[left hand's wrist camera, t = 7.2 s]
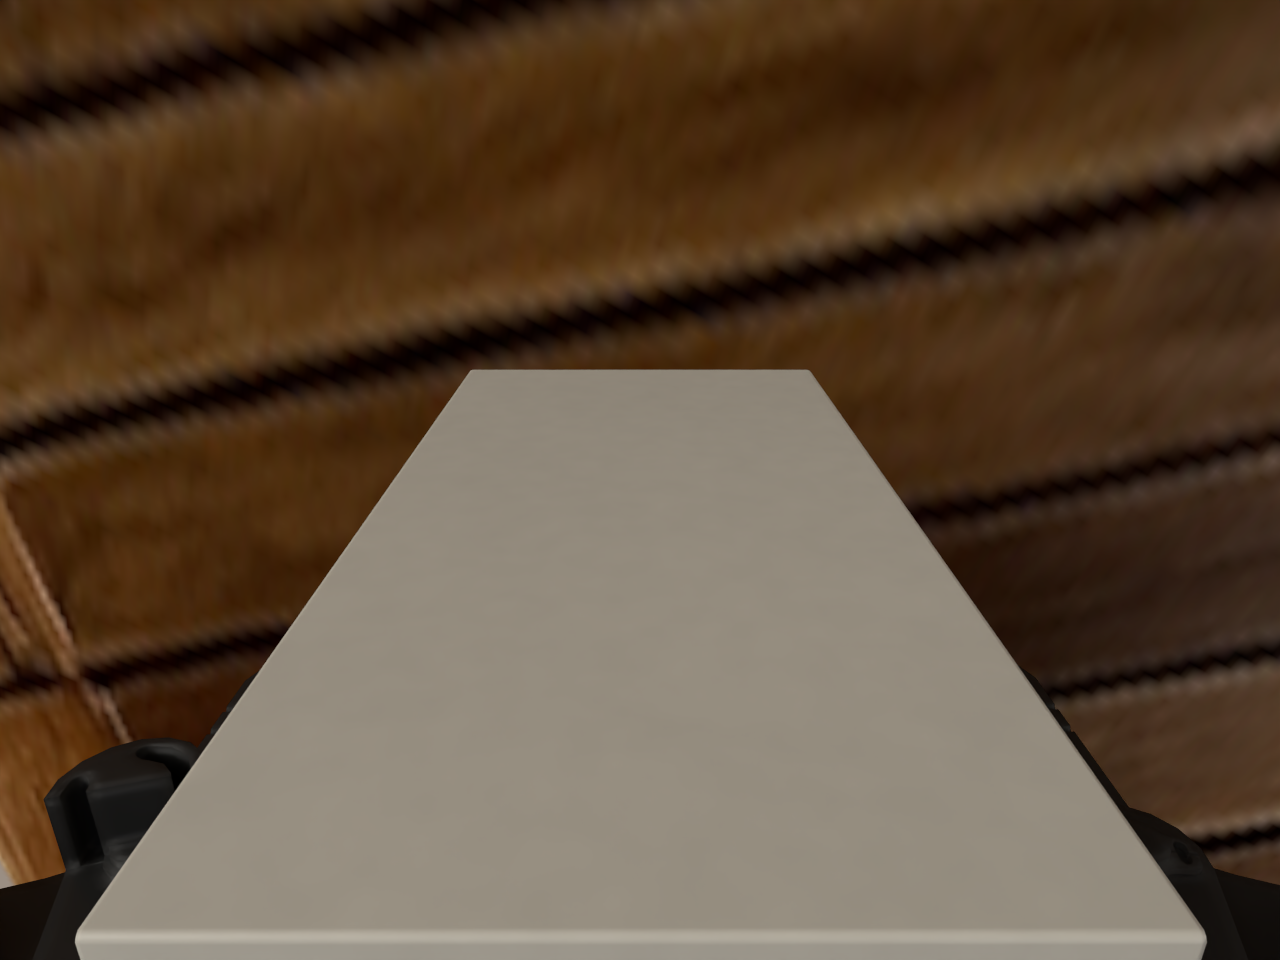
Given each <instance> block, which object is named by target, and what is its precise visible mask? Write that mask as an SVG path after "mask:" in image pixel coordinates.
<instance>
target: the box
mask: <svg viewBox="0 0 1280 960" xmlns="http://www.w3.org/2000/svg"><path fill="white" fill-rule="evenodd" d="M75 944H76V947H77V950H78V953H79V957H80V960H1201V959H1202V956H1203V953H1204V950H1205V947H1206V944H1207V939H1206V934H1205V931H1204V929H1203V928H1202V926H1201V925H1200V923H1199V922H1198V921H1197V919H1196V918H1195V916H1194V915H1193V914H1192V912H1191V911H1190V909H1189V908H1188V906H1187V905H1186V904H1185V902H1184V901H1183V899H1182V898H1181V896H1180V895H1179V894H1178V892H1177V891H1176V889H1175V888H1174V887H1173V885H1172V884H1171V882H1170V881H1169V879H1168V878H1167V877H1166V875H1165V874H1164V872H1163V871H1162V870H1161V868H1160V867H1159V865H1158V864H1157V862H1156V861H1155V860H1154V858H1153V857H1152V855H1151V854H1150V853H1149V851H1148V850H1147V848H1146V847H1145V845H1144V844H1143V843H1142V841H1141V840H1140V838H1139V837H1138V836H1137V834H1136V833H1135V831H1134V830H1133V828H1132V827H1131V826H1130V824H1129V823H1128V821H1127V820H1126V818H1125V817H1124V816H1123V814H1122V813H1121V811H1120V810H1119V809H1118V807H1117V806H1116V804H1115V803H1114V801H1113V800H1112V799H1111V797H1110V796H1109V794H1108V793H1107V792H1106V790H1105V789H1104V787H1103V786H1102V784H1101V783H1100V782H1099V780H1098V779H1097V777H1096V776H1095V775H1094V773H1093V772H1092V770H1091V769H1090V767H1089V766H1088V765H1087V763H1086V762H1085V760H1084V759H1083V758H1082V756H1081V755H1080V753H1079V752H1078V750H1077V749H1076V748H1075V746H1074V745H1073V743H1072V742H1071V741H1070V739H1069V738H1068V736H1067V735H1066V733H1065V732H1064V731H1063V729H1062V728H1061V726H1060V725H1059V723H1058V722H1057V721H1056V719H1055V718H1054V716H1053V715H1052V714H1051V712H1050V711H1049V709H1048V708H1047V706H1046V705H1045V704H1044V702H1043V701H1042V699H1041V698H1040V697H1039V695H1038V694H1037V692H1036V691H1035V689H1034V688H1033V687H1032V685H1031V684H1030V682H1029V681H1028V680H1027V678H1026V677H1025V675H1024V674H1023V672H1022V671H1021V670H1020V668H1019V667H1018V665H1017V664H1016V663H1015V661H1014V660H1013V658H1012V657H1011V655H1010V654H1009V653H1008V651H1007V650H1006V648H1005V647H1004V645H1003V644H1002V643H1001V641H1000V640H999V638H998V637H997V636H996V634H995V633H994V631H993V630H992V628H991V627H990V626H989V624H988V623H987V621H986V620H985V619H984V617H983V616H982V614H981V613H980V611H979V610H978V609H977V607H976V606H975V604H974V603H973V602H972V600H971V599H970V597H969V596H968V594H967V593H966V592H965V590H964V589H963V587H962V586H961V585H960V583H959V582H958V580H957V579H956V577H955V576H954V575H953V573H952V572H951V570H950V569H949V567H948V566H947V565H946V563H945V562H944V560H943V559H942V558H941V556H940V555H939V553H938V552H937V550H936V549H935V548H934V546H933V545H932V543H931V542H930V541H929V539H928V538H927V536H926V535H925V533H924V532H923V531H922V529H921V528H920V526H919V525H918V524H917V522H916V521H915V519H914V518H913V516H912V515H911V514H910V512H909V511H908V509H907V508H906V507H905V505H904V504H903V502H902V501H901V499H900V498H899V497H898V495H897V494H896V492H895V491H894V489H893V488H892V487H891V485H890V484H889V482H888V481H887V480H886V478H885V477H884V475H883V474H882V472H881V471H880V470H879V468H878V467H877V465H876V464H875V463H874V461H873V460H872V458H871V457H870V455H869V454H868V453H867V451H866V450H865V448H864V447H863V446H862V444H861V443H860V441H859V440H858V438H857V437H856V436H855V434H854V433H853V431H852V430H851V429H850V427H849V426H848V424H847V423H846V421H845V420H844V419H843V417H842V416H841V414H840V413H839V412H838V410H837V409H836V407H835V406H834V404H833V403H832V402H831V400H830V399H829V397H828V396H827V394H826V393H825V392H824V390H823V389H822V387H821V386H820V385H819V383H818V382H817V380H816V379H815V377H814V376H813V375H812V373H811V372H810V371H809V370H471V371H470V372H469V374H468V375H467V377H466V378H465V379H464V381H463V382H462V384H461V385H460V386H459V388H458V389H457V391H456V392H455V394H454V395H453V396H452V398H451V399H450V401H449V402H448V404H447V405H446V406H445V408H444V409H443V411H442V412H441V414H440V415H439V416H438V418H437V419H436V421H435V422H434V424H433V425H432V426H431V428H430V429H429V431H428V432H427V433H426V435H425V436H424V438H423V439H422V441H421V442H420V443H419V445H418V446H417V448H416V449H415V451H414V452H413V453H412V455H411V456H410V458H409V459H408V461H407V462H406V463H405V465H404V466H403V468H402V469H401V470H400V472H399V473H398V475H397V476H396V478H395V479H394V480H393V482H392V483H391V485H390V486H389V488H388V489H387V490H386V492H385V493H384V495H383V496H382V498H381V499H380V500H379V502H378V503H377V505H376V506H375V508H374V509H373V510H372V512H371V513H370V515H369V516H368V517H367V519H366V520H365V522H364V523H363V525H362V526H361V527H360V529H359V530H358V532H357V533H356V535H355V536H354V537H353V539H352V540H351V542H350V543H349V545H348V546H347V547H346V549H345V550H344V552H343V553H342V554H341V556H340V557H339V559H338V560H337V562H336V563H335V564H334V566H333V567H332V569H331V570H330V572H329V573H328V574H327V576H326V577H325V579H324V580H323V582H322V583H321V584H320V586H319V587H318V589H317V590H316V592H315V593H314V594H313V596H312V597H311V599H310V600H309V601H308V603H307V604H306V606H305V607H304V609H303V610H302V611H301V613H300V614H299V616H298V617H297V619H296V620H295V621H294V623H293V624H292V626H291V627H290V629H289V630H288V631H287V633H286V634H285V636H284V637H283V639H282V640H281V641H280V643H279V644H278V646H277V647H276V648H275V650H274V651H273V653H272V654H271V656H270V657H269V658H268V660H267V661H266V663H265V664H264V666H263V667H262V668H261V670H260V671H259V673H258V674H257V676H256V677H255V678H254V680H253V681H252V683H251V684H250V685H249V687H248V688H247V690H246V691H245V693H244V694H243V695H242V697H241V698H240V700H239V701H238V703H237V704H236V705H235V707H234V708H233V710H232V711H231V713H230V714H229V715H228V717H227V718H226V720H225V721H224V723H223V724H222V725H221V727H220V728H219V730H218V731H217V732H216V734H215V735H214V737H213V738H212V740H211V741H210V742H209V744H208V745H207V747H206V748H205V750H204V751H203V752H202V754H201V755H200V757H199V758H198V760H197V761H196V762H195V764H194V765H193V767H192V768H191V770H190V771H189V772H188V774H187V775H186V777H185V778H184V779H183V781H182V782H181V784H180V785H179V787H178V788H177V789H176V791H175V792H174V794H173V795H172V797H171V798H170V799H169V801H168V802H167V804H166V805H165V807H164V808H163V809H162V811H161V812H160V814H159V815H158V816H157V818H156V819H155V821H154V822H153V824H152V825H151V826H150V828H149V829H148V831H147V832H146V834H145V835H144V836H143V838H142V839H141V841H140V842H139V844H138V845H137V846H136V848H135V849H134V851H133V852H132V854H131V855H130V856H129V858H128V859H127V861H126V862H125V863H124V865H123V866H122V868H121V869H120V871H119V872H118V873H117V875H116V876H115V878H114V879H113V881H112V882H111V883H110V885H109V886H108V888H107V889H106V891H105V892H104V893H103V895H102V896H101V898H100V899H99V901H98V902H97V903H96V905H95V906H94V908H93V909H92V910H91V912H90V913H89V915H88V916H87V918H86V919H85V920H84V922H83V923H82V925H81V926H80V928H79V929H78V931H77V934H76V938H75Z"/></svg>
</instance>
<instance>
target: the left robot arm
mask: <svg viewBox="0 0 1280 960" xmlns="http://www.w3.org/2000/svg"><path fill="white" fill-rule="evenodd" d="M1018 667H1019V668H1020V670H1021V671H1022V672H1023V674H1024V675H1025V677H1026V678H1027V680H1028V681H1029V682H1030V684H1031V685H1032V687H1033V688H1034V689H1035V691H1036V692H1037V694H1038V695H1039V697H1040V698H1041V699H1042V701H1043V702H1044V704H1045V705H1046V706H1047V708H1048V709H1049V711H1050V712H1051V714H1052V715H1053V716H1054V718H1055V719H1056V721H1057V722H1058V723H1059V725H1060V726H1061V728H1062V729H1063V731H1064V732H1065V733H1066V735H1067V736H1068V738H1069V739H1070V741H1071V742H1072V743H1073V745H1074V746H1075V748H1076V749H1077V750H1078V752H1079V753H1080V755H1081V756H1082V758H1083V759H1084V760H1085V762H1086V763H1087V765H1088V766H1089V767H1090V769H1091V770H1092V772H1093V773H1094V775H1095V776H1096V777H1097V779H1098V780H1099V782H1100V783H1101V784H1102V786H1103V787H1104V789H1105V790H1106V792H1107V793H1108V794H1109V796H1110V797H1111V799H1112V800H1113V801H1114V803H1115V804H1116V806H1117V807H1118V809H1119V810H1120V811H1121V813H1122V814H1123V816H1124V817H1125V818H1126V820H1127V821H1128V823H1129V824H1130V826H1131V827H1132V828H1133V830H1134V831H1135V833H1136V834H1137V836H1138V837H1139V838H1140V840H1141V841H1142V843H1143V844H1144V845H1145V847H1146V848H1147V850H1148V851H1149V853H1150V854H1151V855H1152V857H1153V858H1154V860H1155V861H1156V862H1157V864H1158V865H1159V867H1160V868H1161V870H1162V871H1163V872H1164V874H1165V875H1166V877H1167V878H1168V879H1169V881H1170V882H1171V884H1172V885H1173V887H1174V888H1175V889H1176V891H1177V892H1178V894H1179V895H1180V896H1181V898H1182V899H1183V901H1184V902H1185V904H1186V905H1187V906H1188V908H1189V909H1190V911H1191V912H1192V914H1193V915H1194V916H1195V918H1196V919H1197V921H1198V922H1199V923H1200V925H1201V926H1202V928H1203V929H1204V931H1205V934H1206V939H1207V944H1206V947H1205V950H1204V953H1203V956H1202V959H1201V960H1280V885H1277V884H1272V883H1268V882H1264V881H1259V880H1255V879H1251V878H1247V877H1242V876H1238V875H1234V874H1231V873H1228V872H1224V871H1221V870H1218V869H1215V868H1213V867H1212V865H1211V863H1210V862H1209V860H1208V859H1207V857H1206V856H1205V854H1204V852H1203V851H1202V849H1201V848H1200V847H1199V846H1198V845H1197V844H1195V843H1194V842H1193V841H1192V840H1191V839H1190V838H1188V837H1187V836H1186V835H1185V834H1184V833H1183V832H1181V831H1180V830H1179V829H1178V828H1176V827H1174V826H1172V825H1170V824H1168V823H1166V822H1165V821H1163V820H1161V819H1159V818H1157V817H1155V816H1153V815H1152V814H1149V813H1146V812H1142V811H1139V810H1136V809H1133V808H1129V807H1128V806H1127V804H1126V803H1125V801H1124V800H1123V799H1122V797H1121V796H1120V794H1119V793H1118V792H1117V790H1116V789H1115V787H1114V786H1113V785H1112V783H1111V782H1110V781H1109V779H1108V778H1107V776H1106V775H1105V774H1104V772H1103V771H1102V769H1101V768H1100V767H1099V765H1098V764H1097V762H1096V761H1095V760H1094V758H1093V757H1092V756H1091V754H1090V753H1089V751H1088V750H1087V749H1086V747H1085V746H1084V744H1083V743H1082V742H1081V740H1080V739H1079V737H1078V736H1077V735H1076V733H1075V732H1071V730H1070V725H1069V724H1068V722H1067V721H1066V719H1065V718H1064V717H1063V715H1062V714H1061V713H1060V711H1059V710H1058V709H1055V707H1054V703H1053V701H1052V700H1051V699H1050V697H1049V696H1048V694H1047V693H1046V692H1045V690H1044V689H1043V688H1042V686H1041V685H1040V683H1039V682H1038V681H1037V679H1036V678H1035V677H1034V676H1032V675H1031V674H1029V673H1028V672H1027V671H1025V670H1024V669H1022V668H1021V667H1020V666H1018ZM258 673H259V671H258V672H257V673H255V674H254V675H253V676H251V677H250V678H248V679H247V680H246V681H245V682H244V684H243V685H242V686H241V688H240V689H239V690H238V692H237V693H236V695H235V696H234V697H233V699H232V700H231V702H230V703H229V704H228V706H227V711H226V712H223V713H222V714H221V716H220V717H219V718H218V720H217V721H216V723H215V724H214V725H213V727H212V728H211V734H210V735H206V737H205V738H204V739H203V741H202V742H201V744H200V745H199V746H198V748H197V747H195V746H194V745H193V744H192V743H191V742H186V741H182V740H177V739H173V738H155V739H141V740H137V741H134V742H130V743H126V744H123V745H119V746H115V747H112V748H109V749H107V750H105V751H103V752H101V753H99V754H97V755H95V756H93V757H91V758H88V759H86V760H84V761H82V762H81V763H79V764H78V765H77V766H76V767H74V768H73V769H72V770H70V771H69V772H68V773H66V774H65V775H64V776H62V777H61V778H60V779H58V781H57V782H56V783H55V785H54V786H53V787H52V789H51V790H50V791H49V793H48V794H47V795H46V797H45V798H44V802H45V805H46V808H47V812H48V815H49V818H50V821H51V824H52V827H53V830H54V834H55V837H56V840H57V843H58V846H59V849H60V852H61V856H62V859H63V862H64V865H65V868H66V872H65V873H61V874H58V875H55V876H52V877H48V878H45V879H40V880H36V881H32V882H28V883H23V884H19V885H15V886H11V887H7V888H2V889H0V960H80V957H79V953H78V950H77V947H76V944H75V938H76V934H77V931H78V929H79V928H80V926H81V925H82V923H83V922H84V920H85V919H86V918H87V916H88V915H89V913H90V912H91V910H92V909H93V908H94V906H95V905H96V903H97V902H98V901H99V899H100V898H101V896H102V895H103V893H104V892H105V891H106V889H107V888H108V886H109V885H110V883H111V882H112V881H113V879H114V878H115V876H116V875H117V873H118V872H119V871H120V869H121V868H122V866H123V865H124V863H125V862H126V861H127V859H128V858H129V856H130V855H131V854H132V852H133V851H134V849H135V848H136V846H137V845H138V844H139V842H140V841H141V839H142V838H143V836H144V835H145V834H146V832H147V831H148V829H149V828H150V826H151V825H152V824H153V822H154V821H155V819H156V818H157V816H158V815H159V814H160V812H161V811H162V809H163V808H164V807H165V805H166V804H167V802H168V801H169V799H170V798H171V797H172V795H173V794H174V792H175V791H176V789H177V788H178V787H179V785H180V784H181V782H182V781H183V779H184V778H185V777H186V775H187V774H188V772H189V771H190V770H191V768H192V767H193V765H194V764H195V762H196V761H197V760H198V758H199V757H200V755H201V754H202V752H203V751H204V750H205V748H206V747H207V745H208V744H209V742H210V741H211V740H212V738H213V737H214V735H215V734H216V732H217V731H218V730H219V728H220V727H221V725H222V724H223V723H224V721H225V720H226V718H227V717H228V715H229V714H230V713H231V711H232V710H233V708H234V707H235V705H236V704H237V703H238V701H239V700H240V698H241V697H242V695H243V694H244V693H245V691H246V690H247V688H248V687H249V685H250V684H251V683H252V681H253V680H254V678H255V677H256V676H257V674H258Z"/></svg>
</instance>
